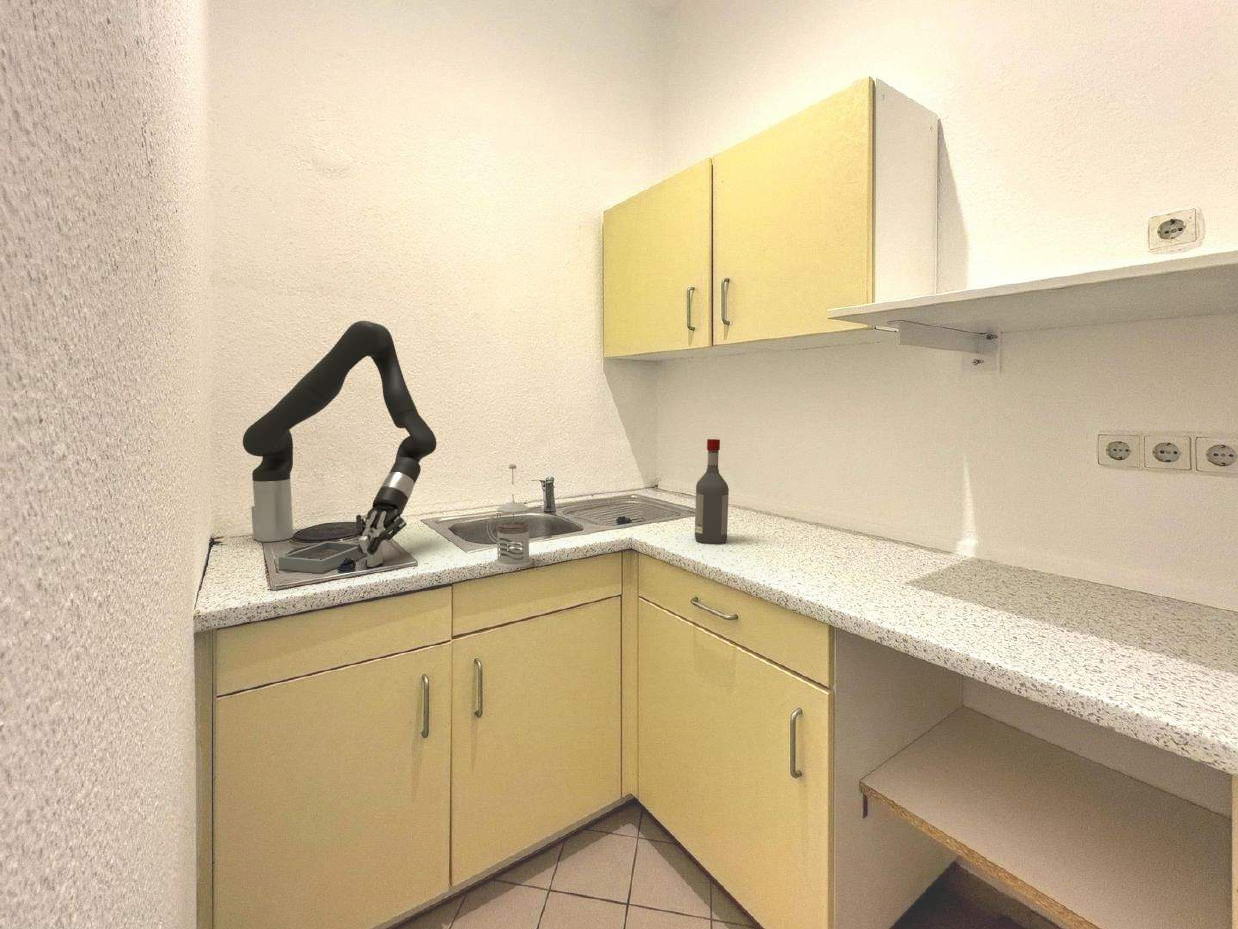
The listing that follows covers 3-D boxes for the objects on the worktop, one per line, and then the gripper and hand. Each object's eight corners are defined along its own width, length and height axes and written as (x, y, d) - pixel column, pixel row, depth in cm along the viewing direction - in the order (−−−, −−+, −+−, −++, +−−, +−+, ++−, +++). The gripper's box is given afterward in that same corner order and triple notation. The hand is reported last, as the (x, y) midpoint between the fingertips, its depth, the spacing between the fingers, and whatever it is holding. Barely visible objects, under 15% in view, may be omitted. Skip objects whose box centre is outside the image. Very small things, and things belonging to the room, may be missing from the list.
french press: (525, 569, 136) (524, 466, 133) (480, 566, 138) (478, 465, 136) (538, 558, 146) (538, 462, 143) (496, 555, 148) (495, 460, 145)
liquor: (724, 537, 171) (728, 438, 168) (727, 544, 162) (731, 440, 159) (694, 536, 172) (697, 438, 168) (695, 543, 163) (698, 440, 159)
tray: (279, 569, 133) (278, 557, 133) (327, 552, 149) (327, 541, 148) (322, 573, 131) (322, 561, 130) (367, 555, 146) (367, 544, 146)
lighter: (377, 561, 141) (376, 530, 140) (383, 562, 140) (382, 530, 140) (359, 570, 134) (357, 537, 133) (365, 570, 133) (364, 537, 133)
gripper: (363, 484, 144) (331, 542, 133) (412, 486, 141) (383, 546, 130) (377, 501, 149) (348, 558, 139) (424, 503, 147) (397, 562, 136)
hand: (365, 552), depth 135 cm, fingers closed on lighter, 2 cm apart
